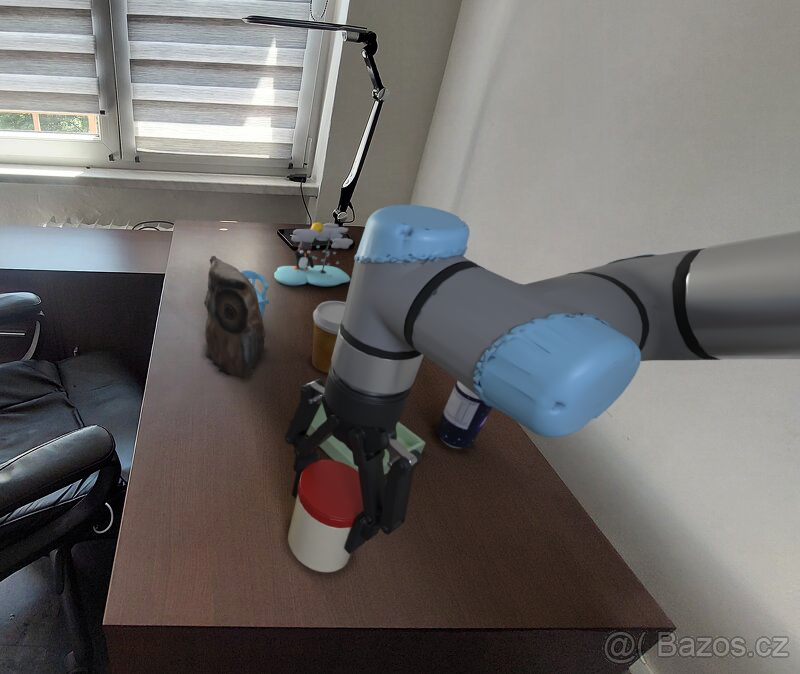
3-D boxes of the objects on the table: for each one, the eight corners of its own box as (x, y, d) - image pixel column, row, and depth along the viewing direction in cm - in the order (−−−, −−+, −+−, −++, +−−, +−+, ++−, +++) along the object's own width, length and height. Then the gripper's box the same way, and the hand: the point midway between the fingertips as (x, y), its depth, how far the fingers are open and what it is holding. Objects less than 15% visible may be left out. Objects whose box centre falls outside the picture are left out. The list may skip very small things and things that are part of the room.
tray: (421, 453, 72) (426, 442, 71) (361, 487, 66) (365, 476, 65) (350, 397, 83) (353, 386, 81) (294, 421, 77) (296, 411, 76)
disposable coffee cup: (362, 368, 90) (377, 316, 83) (329, 385, 85) (342, 331, 79) (326, 345, 96) (337, 295, 90) (293, 359, 92) (303, 307, 85)
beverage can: (473, 456, 72) (504, 399, 65) (434, 445, 74) (460, 388, 67) (469, 431, 76) (498, 375, 70) (433, 422, 78) (457, 367, 71)
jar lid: (384, 506, 53) (388, 496, 52) (335, 542, 49) (338, 532, 48) (330, 459, 59) (333, 449, 58) (282, 488, 55) (284, 478, 54)
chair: (239, 336, 98) (244, 287, 91) (222, 318, 104) (225, 270, 97) (270, 329, 101) (276, 281, 94) (251, 311, 107) (256, 264, 100)
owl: (247, 385, 85) (258, 289, 73) (185, 367, 89) (187, 274, 77) (266, 349, 94) (278, 260, 83) (210, 334, 98) (214, 247, 87)
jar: (364, 553, 58) (385, 501, 52) (317, 584, 54) (334, 532, 49) (320, 505, 64) (335, 454, 58) (275, 531, 60) (286, 479, 54)
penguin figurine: (276, 288, 117) (284, 232, 108) (270, 270, 126) (277, 216, 117) (353, 290, 117) (367, 234, 109) (342, 271, 126) (354, 218, 118)
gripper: (502, 424, 38) (420, 571, 51) (317, 313, 52) (290, 449, 65) (451, 462, 34) (376, 610, 47) (268, 332, 49) (249, 472, 61)
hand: (326, 517), depth 56 cm, fingers closed on jar lid, 8 cm apart
